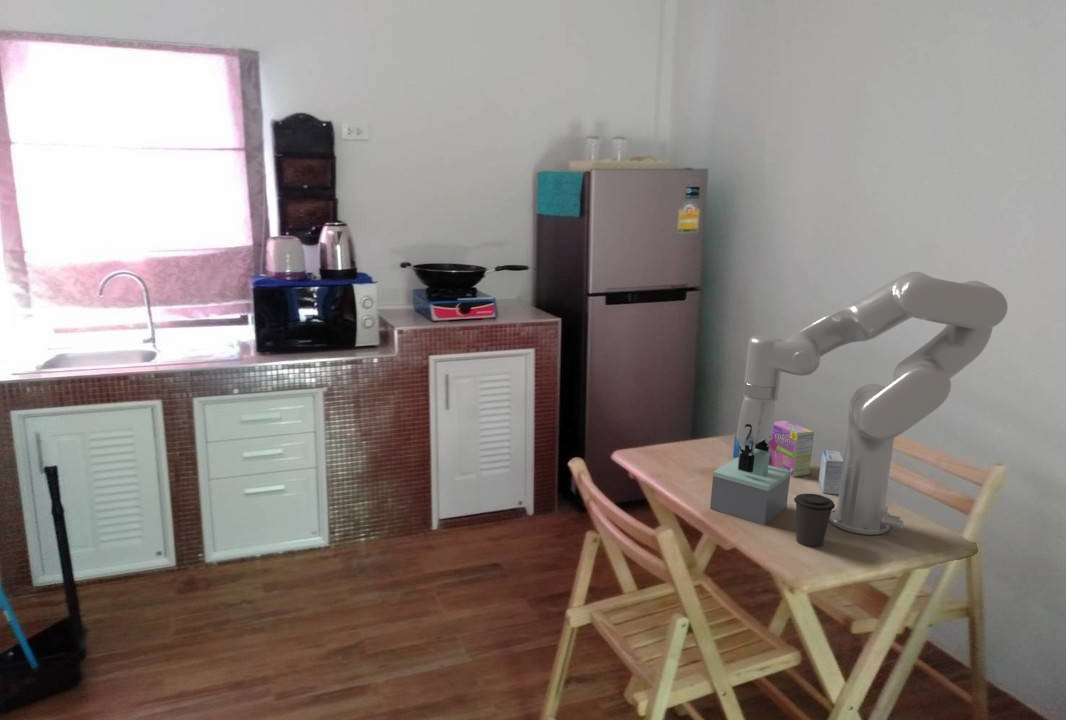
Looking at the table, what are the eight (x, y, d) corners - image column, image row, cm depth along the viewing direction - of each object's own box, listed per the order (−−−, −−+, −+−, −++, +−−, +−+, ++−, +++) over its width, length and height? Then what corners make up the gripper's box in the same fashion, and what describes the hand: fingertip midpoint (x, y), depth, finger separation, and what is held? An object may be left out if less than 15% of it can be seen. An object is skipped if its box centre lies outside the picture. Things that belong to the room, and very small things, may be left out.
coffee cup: (782, 540, 172) (787, 496, 169) (800, 530, 177) (806, 486, 175) (818, 554, 166) (824, 508, 164) (836, 542, 172) (842, 498, 169)
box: (765, 464, 218) (769, 421, 215) (781, 461, 220) (786, 419, 218) (792, 477, 209) (797, 433, 206) (809, 475, 211) (815, 431, 208)
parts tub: (786, 507, 189) (790, 475, 187) (764, 525, 179) (768, 490, 177) (733, 492, 197) (737, 461, 195) (710, 508, 187) (713, 475, 185)
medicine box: (841, 495, 198) (845, 461, 196) (822, 493, 199) (826, 459, 197) (836, 484, 205) (840, 451, 203) (817, 482, 206) (821, 449, 204)
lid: (790, 479, 187) (793, 450, 186) (768, 495, 177) (771, 465, 176) (736, 465, 195) (739, 437, 194) (712, 480, 185) (714, 450, 183)
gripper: (760, 381, 190) (752, 453, 194) (728, 395, 177) (721, 472, 181) (791, 387, 186) (783, 460, 190) (761, 402, 173) (753, 480, 177)
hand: (752, 465), depth 185 cm, fingers open, 7 cm apart
